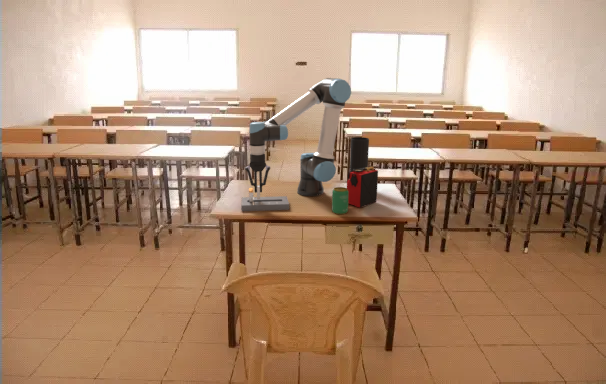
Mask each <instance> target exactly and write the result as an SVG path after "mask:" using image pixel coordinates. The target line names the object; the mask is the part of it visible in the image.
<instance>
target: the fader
mask: <svg viewBox="0 0 606 384" xmlns="http://www.w3.org/2000/svg"><path fill="white" fill-rule="evenodd" d="M248 194H249V195H248V197H249V202H253V197H254V187H249V188H248Z"/></svg>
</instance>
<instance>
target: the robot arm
mask: <svg viewBox="0 0 606 384" xmlns="http://www.w3.org/2000/svg"><path fill="white" fill-rule="evenodd" d="M351 94H352V89H351V85H350V84H349V82H348V81H347V80H345V79H342V78H333V77H325V78H324V79H322V80H320V81H318V82H317V83H315V84H314V85H313V86H311V87H310V88H309V89H308V90H307V92H306V93H304V95H302V96H300V97H299V98H297V99H296V100H295V101H294V102H292V103H291V104H290V105H287V107H285V108H284V109H282V110H281V111H280V112H278V113H277V114H275V115H274V116H272V117H271V118H269V120H265V121H253V122H250V123H249V130H248V133H249V153H250V154H249V158H250V160H249V164H248V166H245V168H244V169H245V171H246V172H247V174H248V175H247V176H248V180H249V183H250V185H251V186H252V187H253V188H254V193H256V197H257V199H260V197H261V193H263V186H265V185H266V184H267V178H268V176H269V172H270V170H271V166H270V165H268V164H267V162H266V142H270V141H271V142H272V141H274V142H275V141H276V142H277V141H285V140H287V139H288V138H289V130H288V126H287V125H288V124H290V123H291V122H293V121H294V120H295V119H296V118H298V117H299V116H301V115H302V114H304V113H305V112H306V111H308V110H309V109H311V108H312V107H313V106H315V105H320V104H321V103H322V104H323V107H324V110H323V114H322V115H323V116H322V121H321V126H320V132H319V137H318V142H317V149H316V151H315V152H305V153H301V155H300V159H299V162H300V166H299V167H300V180H299V183H298V186H297V189H296V190H297V191H296V192H297V194H298V195H301V196H305V197H306V196H307V197H316V196H317V197H318V196H321V195H323V194H324V192H325V191H324V190H325V189H324V186H323V183H327V182H329V181H331V180H332V179H333V178H334V177H335V175H336V173H337V168H336V167H337V166H336V165H335V156H334V150H335V149H334V148H335V142H336V137H337V132H338V129H339V123H340V122H339V121H340V117H341V112H342V110H343V108H345V106H346V103H347V101H348V100H349V99H350V97H351ZM264 169H265V173H264V177H263V175H262V174H263V173H262V172H263V171H264ZM251 170H252V171H253V175H254V176H253V177H254V178H253V177H252V174H251ZM257 173H259V185H258V178H257V176H258V175H257ZM253 179H254V181H253Z"/></svg>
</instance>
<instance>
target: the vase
mask: <svg viewBox="0 0 606 384" xmlns="http://www.w3.org/2000/svg"><path fill="white" fill-rule="evenodd" d="M369 145H370V138H368V137H361V136H357V137H355V136H354V137H351V138H350V154H349V155H350V156H349V157H350V158H349V163H350V164H349V172H350V171H353V169H359V168H365V167H368V165H369V148H370V146H369Z"/></svg>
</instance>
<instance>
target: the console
mask: <svg viewBox="0 0 606 384" xmlns="http://www.w3.org/2000/svg"><path fill="white" fill-rule="evenodd" d="M240 205H241V209H240V210H241V212H255V211H256V212H260V211H263V212H264V211H289V210H290V202H289V199H288V196H286V195H283V196H281V195H279V196H260V199H257V196H253V202H249V196H247V197H245V196H244V197H243V196H242V197H241V204H240Z"/></svg>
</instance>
